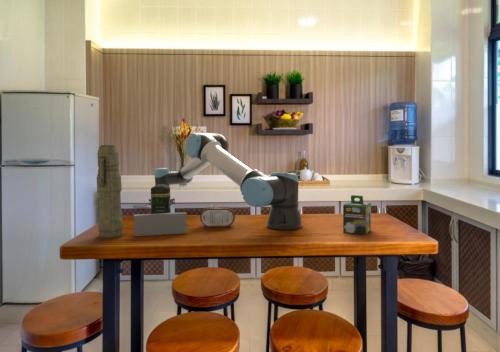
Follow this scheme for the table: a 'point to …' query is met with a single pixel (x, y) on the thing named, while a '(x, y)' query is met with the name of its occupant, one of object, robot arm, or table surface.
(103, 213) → the carved stone statue
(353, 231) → the chalk box
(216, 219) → the tin
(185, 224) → the board
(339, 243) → the table surface
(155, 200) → the coffee jar
